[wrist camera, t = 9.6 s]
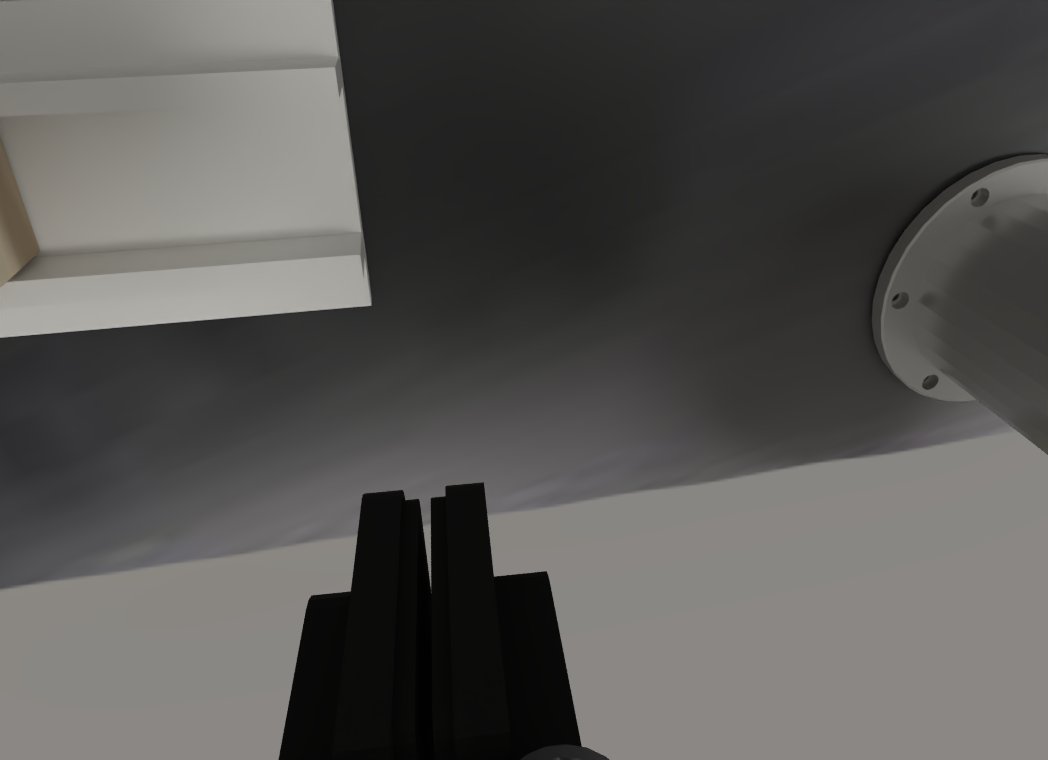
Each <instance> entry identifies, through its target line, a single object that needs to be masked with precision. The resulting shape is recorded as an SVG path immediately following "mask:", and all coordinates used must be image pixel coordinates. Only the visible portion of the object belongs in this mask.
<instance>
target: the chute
mask: <svg viewBox="0 0 1048 760" xmlns="http://www.w3.org/2000/svg"><path fill="white" fill-rule="evenodd" d="M0 137H1V140H2V143H3V145H4V148H5V151H6V154H7V157H8V160H9V163H10V166H11V168H12V171H13V174H14V177H15V180H16V183H17V186H18V189H19V191H20V194H21V197H22V200H23V203H24V206H25V209H26V212H27V214H28V217H29V220H30V223H31V226H32V229H33V232H34V234H35V237H36V240H37V243H38V246H39V249H40V252H39V253H37V254H36V255H35V256H34V257H33V258H32V259H31V260H30V261H29V262H28V263H27V264H26V265H25V266H23V267H22V268H21V269H20V270H19V271H18V272H17V273H16V274H15V275H14V276H13V277H12V278H10V279H9V280H8V281H7V282H6V283H5V284H4V285H3V286H2V287H1V288H0V338H1V337H13V336H25V335H36V334H48V333H59V332H71V331H83V330H94V329H106V328H117V327H129V326H140V325H152V324H164V323H175V322H187V321H198V320H210V319H222V318H233V317H245V316H256V315H268V314H279V313H291V312H303V311H314V310H326V309H337V308H349V307H360V306H371V289H370V281H369V273H368V266H367V258H366V251H365V243H364V235H363V228H362V220H361V212H360V205H359V197H358V190H357V182H356V174H355V167H354V159H353V152H352V144H351V136H350V129H349V121H348V113H347V106H346V98H345V91H344V83H343V75H342V68H341V60H340V52H339V45H338V37H337V30H336V22H335V14H334V7H333V0H0Z"/></svg>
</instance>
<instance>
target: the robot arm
mask: <svg viewBox="0 0 1048 760" xmlns="http://www.w3.org/2000/svg"><path fill="white" fill-rule="evenodd" d="M872 328H873V335H874V342H875V345H876V347H877V350H878V352H879V354H880V357H881V359H882V361H883V362H884V363H885V365H886V366H887V367H888V369H889V370H890V371H891V373H892V374H894V375H895V376H896V377H897V378H898V379H900V380H901V381H902V382H903V383H904V384H905V385H906V386H907V387H909V388H910V389H912V390H914V391H915V392H917V393H918V394H921V395H923V396H926V397H929V398H933V399H936V400H940V401H951V402H967V401H976V400H978V401H979V402H980V403H982V404H983V405H984V406H986V407H987V408H988V409H989V410H991V411H992V412H993V413H995V414H996V415H997V416H998V417H1000V418H1001V419H1002V420H1004V421H1005V422H1006V423H1008V424H1009V425H1010V426H1011V427H1013V428H1014V429H1015V430H1017V431H1018V432H1019V433H1020V434H1022V435H1023V436H1024V437H1026V438H1027V439H1028V440H1029V441H1031V442H1032V443H1033V444H1035V445H1036V446H1037V447H1038V448H1040V449H1041V450H1042V451H1044V452H1045V453H1046V454H1047V455H1048V155H1047V154H1036V155H1022V156H1016V157H1013V158H1009V159H1005V160H1001V161H998V162H994V163H992V164H990V165H987V166H985V167H983V168H981V169H979V170H977V171H974V172H972V173H970V174H968V175H967V176H965V177H964V178H962V179H961V180H959V181H957V182H956V183H954V184H953V185H951V186H950V187H948V188H947V189H945V190H944V191H943V192H942V193H941V194H940V195H938V196H937V197H936V198H935V199H934V200H933V201H932V202H930V203H929V204H928V205H927V206H926V207H925V208H924V209H923V210H922V211H921V212H920V213H919V214H918V216H917V217H916V218H915V219H914V220H913V221H912V222H911V224H910V225H909V226H908V227H907V228H906V229H905V231H904V232H903V234H902V235H901V237H900V238H899V240H898V242H897V243H896V245H895V246H894V248H893V249H892V251H891V252H890V254H889V256H888V259H887V261H886V263H885V265H884V268H883V270H882V272H881V274H880V277H879V280H878V284H877V288H876V291H875V295H874V299H873V310H872ZM445 489H446V496H445V497H435V498H431V587H430V580H429V571H428V563H427V555H426V548H425V539H424V532H423V523H422V515H421V508H420V501H419V499H414V500H405V496H404V492H403V490H398V491H387V492H377V493H366V494H363V497H362V503H361V511H360V520H359V528H358V537H357V545H356V553H355V562H354V571H353V579H352V587H351V592H342V593H333V594H322V595H313V596H311V598H310V599H309V601H308V605H307V609H306V613H305V619H304V624H303V630H302V635H301V640H300V646H299V652H298V657H297V663H296V668H295V673H294V679H293V684H292V690H291V696H290V701H289V706H288V711H287V717H286V722H285V728H284V733H283V739H282V745H281V750H280V756H279V760H609V759H608V758H607V757H605V756H603V755H601V754H599V753H597V752H595V751H593V750H591V749H589V748H586V747H582V746H581V741H580V736H579V730H578V726H577V720H576V715H575V710H574V705H573V700H572V694H571V689H570V684H569V679H568V674H567V669H566V663H565V658H564V653H563V648H562V643H561V638H560V633H559V627H558V622H557V617H556V612H555V607H554V601H553V596H552V591H551V586H550V581H549V577H548V574H547V572H535V573H527V574H516V575H506V576H497V577H494V574H493V565H492V555H491V546H490V537H489V527H488V517H487V508H486V499H485V489H484V482H483V483H473V484H462V485H451V486H446V487H445Z"/></svg>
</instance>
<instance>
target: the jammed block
mask: <svg viewBox="0 0 1048 760" xmlns="http://www.w3.org/2000/svg"><path fill="white" fill-rule="evenodd" d="M39 252H40V249H39V246H38V243H37V240H36V237H35V234H34V232H33V229H32V226H31V223H30V220H29V217H28V214H27V212H26V209H25V206H24V203H23V200H22V197H21V194H20V191H19V189H18V186H17V183H16V180H15V177H14V174H13V171H12V168H11V166H10V163H9V160H8V157H7V154H6V151H5V148H4V145H3V143H2V140H1V137H0V288H1V287H2V286H3V285H4V284H5V283H6V282H7V281H8V280H9V279H10V278H12V277H13V276H14V275H15V274H16V273H17V272H18V271H19V270H20V269H21V268H22V267H23V266H25V265H26V264H27V263H28V262H29V261H30V260H31V259H32V258H33V257H34V256H35V255H36V254H37V253H39Z"/></svg>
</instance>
